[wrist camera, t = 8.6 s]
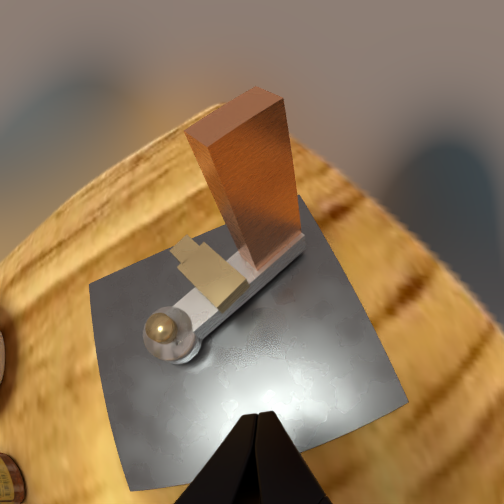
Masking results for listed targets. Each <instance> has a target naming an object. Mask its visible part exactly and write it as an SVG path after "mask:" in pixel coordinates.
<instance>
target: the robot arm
mask: <svg viewBox="0 0 504 504" xmlns="http://www.w3.org/2000/svg"><path fill="white" fill-rule="evenodd" d="M174 504H332V502H331V501H330V499H329V498H328V497H327V496H326V493H325V492H324V490H323V489H322V487H321V486H320V484H319V483H318V481H317V480H316V478H315V476H314V475H313V473H312V472H311V470H310V469H309V467H308V465H307V464H306V462H305V461H304V459H303V458H302V456H301V454H300V453H299V451H298V449H297V448H296V446H295V445H294V443H293V441H292V440H291V438H290V436H289V435H288V433H287V432H286V430H285V428H284V427H283V425H282V423H281V422H280V420H279V418H278V416H277V415H276V413H275V412H274V411H266V412H260V413H259V414H257V413H252V414H244V415H242V416H241V417H240V418H239V420H238V421H237V422H236V424H235V425H234V427H233V428H232V429H231V431H230V432H229V434H228V435H227V436H226V438H225V439H224V440H223V442H222V443H221V444H220V446H219V447H218V448H217V450H216V451H215V452H214V454H213V455H212V456H211V458H210V459H209V460H208V462H207V463H206V464H205V466H204V467H203V468H202V469H201V471H200V472H199V473H198V474H197V476H196V477H195V478H194V480H193V481H192V482H191V483H190V485H189V486H188V487H187V488H186V489H185V491H184V492H183V493H182V494H181V496H180V497H179V498H178V499H177V500H176V502H175V503H174Z"/></svg>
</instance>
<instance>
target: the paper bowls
mask: <svg viewBox="0 0 504 504" xmlns="http://www.w3.org/2000/svg"><path fill="white" fill-rule="evenodd" d="M4 366H5V347H4V341H3V337H2V334H1V331H0V384H1V381H2V378H3V373H4Z"/></svg>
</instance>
